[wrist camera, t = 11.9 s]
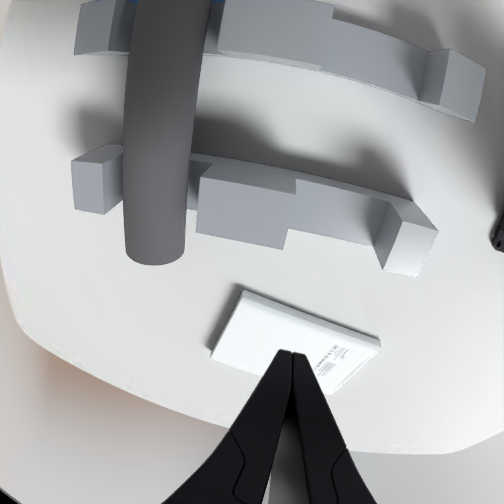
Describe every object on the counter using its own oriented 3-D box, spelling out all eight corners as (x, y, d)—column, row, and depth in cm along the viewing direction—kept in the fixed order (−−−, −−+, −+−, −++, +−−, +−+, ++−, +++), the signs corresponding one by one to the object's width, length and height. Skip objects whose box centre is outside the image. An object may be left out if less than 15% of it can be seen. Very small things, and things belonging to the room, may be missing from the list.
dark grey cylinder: (225, -28, 10) (212, -52, 7) (190, 237, 19) (175, 270, 16) (161, -27, 10) (136, -46, 7) (138, 229, 19) (116, 258, 16)
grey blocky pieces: (452, 59, 12) (490, 58, 8) (398, 242, 18) (417, 279, 15) (120, 5, 12) (81, -7, 9) (107, 185, 19) (72, 210, 15)
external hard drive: (244, 283, 23) (379, 335, 24) (212, 346, 27) (329, 384, 28) (241, 297, 21) (382, 349, 22) (208, 359, 26) (329, 397, 27)
